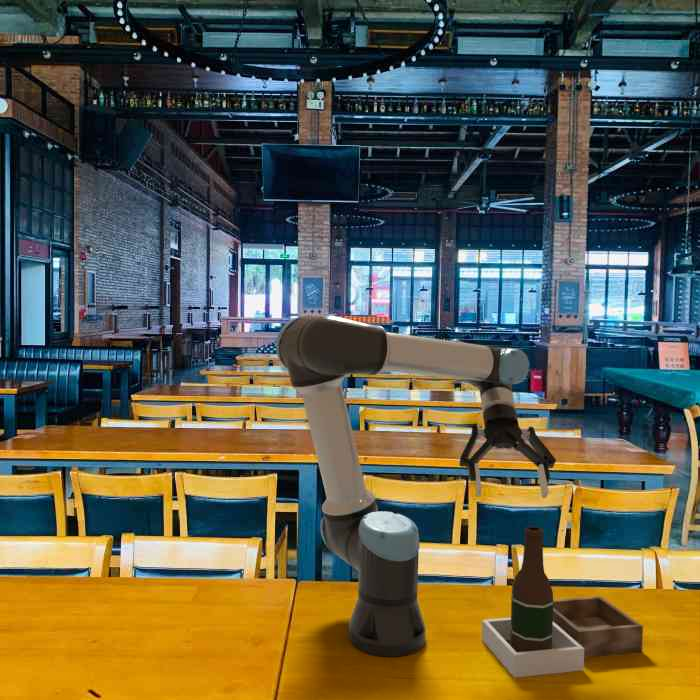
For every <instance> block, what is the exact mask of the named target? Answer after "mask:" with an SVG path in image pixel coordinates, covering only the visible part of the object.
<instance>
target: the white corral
mask: <svg viewBox="0 0 700 700" xmlns="http://www.w3.org/2000/svg"><path fill="white" fill-rule="evenodd" d="M481 622H482V623H481V641H482V642H483V643H484V645H485V646H486V647H487V648H488V649H489V651H491V653H492V654H493V655H494V656H495V657H496V659H497V660H499V662H500V663H501V664H502V666H503V667H504V668H505V669H506V670H507V671H508V673H509V674H510V675H511V676H512V678H514V679H515V678H524V677H533V676H534V677H535V676H543V675H552V674H561V673H571V672H572V673H573V672H583V671H584V669H585V667H584V666H585V658H584V648H583V647H582V646H581V645H580V644H579V643H577V642H576V641H575V640H574V639H573V638H572V637H570V636H569V635H568V634H567V633H566V632H565V631H564V630H562V629H561V628H560V627H559V626H558V625H557V624H555V623H554V622H553V628H552V647H553V648H552V649H548V650H538V651H528V652H516V651H515V650H514V649H513V648H512V647H511V644H510V643H508V642H507V641H509V640H510V632H511V617H501V618H490V619H482V620H481Z"/></svg>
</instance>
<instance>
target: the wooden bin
mask: <svg viewBox="0 0 700 700" xmlns="http://www.w3.org/2000/svg"><path fill="white" fill-rule="evenodd" d="M553 622H554V623H555V624H557V625H558V626H559V627H560V628H561V629H562V630H564V631H565V632H566V633H567V634H568V635H569V636H570V637H572V638H573V639H574V640H575V641H576V642H577V643H579V644H580V645H581V646H582V647H583V648H584V659H585V658H593V657H601V656H602V657H603V656H613V655H623V654H632V653H633V654H634V653H642V652H643V639H644V637H643V636H644V635H643V633H644V626H643V625H642V624H640V623H639V622H638V621H637V620H635V619H634V618H632V617H631V616H629V615H628V614H626V613H625V612H624V611H622V610H621V609H619V608H617V607H616V606H615V605H614V604H612V603H610V602H609V601H608V600H607V599H605V598H604V597H602V596H588V597H576V598H561V599H553Z"/></svg>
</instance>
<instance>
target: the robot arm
mask: <svg viewBox="0 0 700 700" xmlns="http://www.w3.org/2000/svg"><path fill="white" fill-rule="evenodd" d="M275 341H276V342H275V352H276V356H277V358H278V360H279V361H280V362H281V364H282V365H283V366H284V367H285V368H286V369H287V371H288V375H289V378H290V382H291V383H290V384H291V387H292V388H293V389H294V390H297V391H298V392H300V394H301V397H302V401H303V406H304V410H305V413H306V418H307V423H308V427H309V431H310V434H311V438H312V439H311V440H312V442H313V443H312V444H313V447H314V450H315V456H316V459H317V464H318V469H319V472H320V476H321V479H322V483H323V488H324V492H325V497H326V499H325V500H324V502H323V504H322V505H321V510H322V511H321V512H322V514H323V516H322V518H321V520H320V534H321V538H322V540H323V542H324V544H325V546H326V547H327V548H328V549H329V550H330V552H331V553H332V554H333V555H335V556H336V557H338V558H340V559H341V560H342V561H344V562H346V563H347V564H348V565H349V566H351V567H352V568H353V569H355V570H357V571H358V584H357V585H358V586H357V587H358V592H357V593H358V595H357V599H356V602H355V606H354V608H353V611H352V614H351V617H350V620H349V623H348V640H349V642H350V644H352V646H353V647H355V648H356V649H358V650H360V651H362V652H365V653H367V654H371V655H374V656H379V657H400V656H406V655H410V654H413V653H416V652H417V651H419V650H420V649H421V648H423V646H425V643H426V633H427V632H426V630H427V629H426V626H425V622H424V618H423V615H422V611H421V609H420V604H419V601H418V588H419V587H418V584H419V583H418V582H419V580H418V579H419V552H420V551H419V550H420V537H419V528H418V527H417V525H416V523H415V522H414V521H413V520H412V519H411V518H409V517H407V516H405V515H403V514H400V513H394V512H392V511H385V510H383V511H382V510H381V511H379V509H378V504H377V500H376V497H375V493H373V492H372V491H370V490H368V489H367V488H366V484H365V479H364V476H363V473H362V472H363V471H362V467H361V462H360V459H359V454H358V449H357V445H356V440H355V435H354V432H353V428H352V424H351V419H350V414H349V411H348V407H347V406H348V405H347V402H346V398H345V393H344V389H343V384H342V383H343V381H344V380H345V378H346V376H347V375H367V376H376V375H379V374H380V373H381V372H390V373H399V374H400V373H401V374H412V375H421V376H431V377H438V378H439V377H440V378H452V379H459V380H463V381H464V382H467V384H470V385H471V386H473V387H474V388H477V389H478V390H479V396H480V403H481V410H482V418H483V425H484V426H483V427H484V428H478V426H477V425H473V426H472V427H471V433H470V437H469V440H468V442H467V444H466V445H465V447H464V450H462V453H461V455H460V458H459V463H458V465H459V466H460V467H466V468H467V471H468V476H469V481H470V482H474V487H475V495H476V498H480V497H481V494H482V491H483V490H482V481H481V475H480V474H481V472H480V467H479V466H480V464H479V462H480V461H481V460H482V459H483V458H484V457H485V456H486V454H487V453H488V452H489V451H491V450H492V449H493V448H494V447H495V448H496V449H507V450H508V449H512V448H513V449H514V450H515V451H517V452H519V453H521V454H522V455H523V456H524V457H525V458H527V459H528V460H529V461H530V462H531V463H533V464H534V465H535V466H536V467H537V470H536V472H537V477H538V483H539V487H540V493H541V498H542V499H547V497H548V494H549V488H548V487H549V486H548V483H549V482H550V479H551V475H550V469H553V468H554V466H555V464H556V461H557V459H556V457H555V456H554V455H553V454H552V453H551V451H550V449H548V447H547V446H545V444H544V443H543V442H542V441H541V439H540V438H539V436H538V435H537V434H536V431H535V428H534V427H533V426H528V428H527V429H522V428H520V425H519V420H518V413H517V410H516V404H515V403H516V402H515V398H514V393H513V390H512V389H513V388H512V385H517V384H520V383H522V382H524V381H525V379H526V378H527V376H528V374H529V369H530V361H529V358H528V356H527V354H526V353H525V352H524V351H522V350H521V349H518V348H512V347H498V346H489V345H481V344H476V343H468V342H464V341H461V340H459V339H457V338H454V339H451V340H445V339H440V338H439V339H437V338H432V337H424V336H416V335H410V334H403V333H402V334H401V333H394V332H389V331H388V332H387V331H386V329H385V328H384V327H382V326H381V325H375V324H370V323H364V322H360V321H356V320H352V319H348V318H345V317H341V316H336V315H329V314H328V315H310V314H309V315H302V316H299V317H295V318H292V319H291V320H289V321H288V322H286V323H285V324H284V325H283V326H282V327H281V329H280V331H279V332H278V334H277V337H276V340H275ZM481 436H483V437H484V438H485V442H484V443H482V445H481V446H480V447H479V448H478V449H477V451H475V453H474V454H473V455H472V456H471V457H470V455H471V454H472V451H473V449H474V447H475V445H476V442H477V440H479V439H480V438H481ZM523 437H524V438H525V440H526V441H528V442H529V444H530V445H531V446H532V447H531V446H530V445H529V444H528V443H527V442H525V440H524V439H523ZM469 457H470V458H469Z"/></svg>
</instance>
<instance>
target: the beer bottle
mask: <svg viewBox="0 0 700 700" xmlns="http://www.w3.org/2000/svg"><path fill="white" fill-rule="evenodd" d="M544 533H545V532H544V530H543V528H541V527H537V526H527V527H524V530H523V534H524V536H525V537H524V545H523V556H522V564H521V569H520V570H519V571H518V572H517V573H516V575H515V576H514V579H513V581H512V585H511V595H510V596H511V597H510V598H511V599H510V600H511V601H510V603H511V604H510V618H511V632H510V642H509V644H510V646H511V647H512V648H513V649H514V650H515V651H516V652H528V651H538V650H548V649H553V645H552V628H553V600H554V592H553V589H552V584H551V582H550V579H549V577H548V576H547V575H546V573H545V567H544V547H543V545H544V543H543V538H544V537H545V534H544Z"/></svg>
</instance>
